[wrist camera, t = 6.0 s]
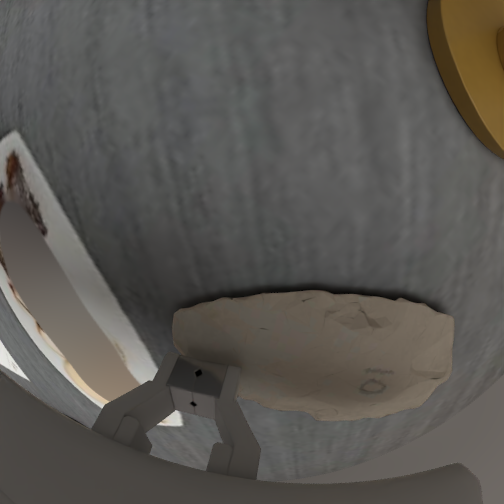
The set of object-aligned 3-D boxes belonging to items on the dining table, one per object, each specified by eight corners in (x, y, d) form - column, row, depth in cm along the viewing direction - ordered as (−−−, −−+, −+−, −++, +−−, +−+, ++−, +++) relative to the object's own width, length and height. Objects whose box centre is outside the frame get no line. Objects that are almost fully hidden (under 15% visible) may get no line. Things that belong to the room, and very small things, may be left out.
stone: (405, 404, 13) (410, 430, 11) (177, 371, 13) (164, 400, 12) (480, 305, 9) (498, 332, 7) (176, 242, 10) (152, 269, 8)
